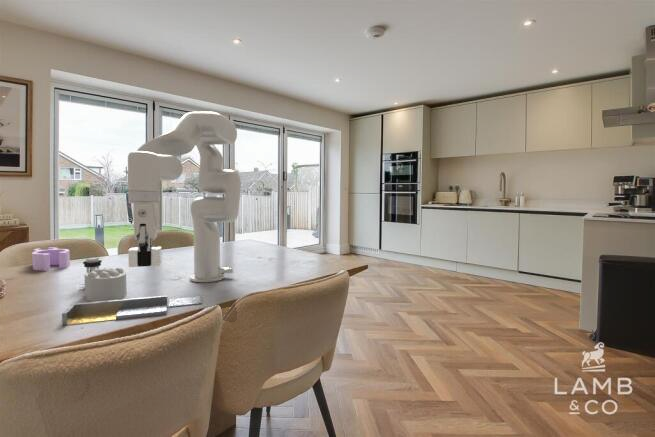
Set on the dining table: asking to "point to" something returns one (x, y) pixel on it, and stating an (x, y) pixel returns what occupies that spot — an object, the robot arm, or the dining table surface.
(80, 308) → the rail
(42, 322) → the dining table surface
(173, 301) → the tab
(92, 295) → the lumpy-topped squat cylinder
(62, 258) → the purple lobed block
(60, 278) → the dining table surface
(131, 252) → the clip block
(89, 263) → the push button
